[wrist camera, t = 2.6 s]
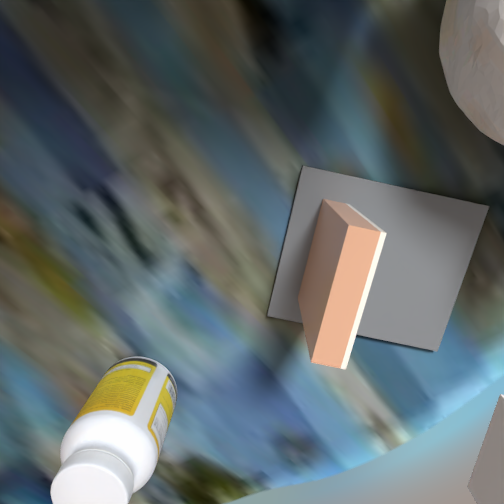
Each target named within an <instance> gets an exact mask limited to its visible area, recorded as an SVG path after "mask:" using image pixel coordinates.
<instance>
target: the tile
mask: <svg viewBox="0 0 504 504" xmlns="http://www.w3.org/2000/svg"><path fill="white" fill-rule="evenodd" d="M386 234H387V233H386V232H385V231H383V230H382V229H381V228H379V227H378V226H377V225H376V224H374V223H373V222H372V221H370V220H369V219H368V218H366V217H365V216H364V215H363V214H361V213H360V212H359V211H357V210H356V209H355V208H354V207H352V206H351V205H350V204H346V203H341V202H336V201H332V200H327V199H323V201H322V205H321V209H320V213H319V217H318V221H317V225H316V228H315V232H314V236H313V240H312V244H311V248H310V252H309V256H308V260H307V264H306V268H305V272H304V275H303V279H302V283H301V287H300V291H299V295H298V302H299V307H300V311H301V316H302V321H303V326H304V331H305V336H306V341H307V345H308V350H309V355H310V360H311V362H312V363H317V364H322V365H327V366H332V367H336V368H341V369H346V367H347V364H348V360H349V357H350V354H351V350H352V347H353V344H354V340H355V337H356V334H357V330H358V327H359V324H360V320H361V317H362V314H363V310H364V307H365V304H366V300H367V297H368V294H369V290H370V287H371V284H372V280H373V277H374V274H375V270H376V267H377V264H378V260H379V257H380V254H381V250H382V247H383V244H384V240H385V237H386Z"/></svg>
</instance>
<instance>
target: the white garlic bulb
mask: <svg viewBox="0 0 504 504" xmlns="http://www.w3.org/2000/svg"><path fill="white" fill-rule="evenodd" d="M439 55H440V59H441V63H442V67H443V71H444V75H445V78H446V82H447V85H448V88H449V91H450V94H451V95H452V97H453V99H454V101H455V102H456V104H457V105H458V107H459V108H460V109H461V110H462V111H463V112H464V113H465V115H466V116H467V117H468V119H469V120H470V121H471V122H472V123H473V124H474V125H475V126H476V127H477V128H478V129H479V130H480V131H481V132H482V133H484V134H485V135H486V136H488V137H490V138H491V139H493V140H494V141H496V142H498V143H500V144H502V145H504V0H446V4H445V9H444V13H443V18H442V22H441V27H440V43H439Z"/></svg>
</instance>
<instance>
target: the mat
mask: <svg viewBox="0 0 504 504" xmlns="http://www.w3.org/2000/svg"><path fill="white" fill-rule="evenodd" d="M323 199H327V200H332V201H336V202H341V203H346V204H350V205H351V206H352V207H354V208H355V209H356V210H357V211H359V212H360V213H361V214H363V215H364V216H365V217H366V218H368V219H369V220H370V221H372V222H373V223H374V224H376V225H377V226H378V227H379V228H381V229H382V230H383V231H385V232H386V233H387V234H386V237H385V240H384V244H383V247H382V250H381V254H380V257H379V260H378V264H377V267H376V270H375V274H374V277H373V280H372V284H371V287H370V290H369V294H368V297H367V300H366V304H365V307H364V310H363V314H362V317H361V320H360V324H359V327H358V330H357V334H356V335H361V336H366V337H371V338H375V339H380V340H385V341H390V342H395V343H399V344H404V345H409V346H414V347H419V348H424V349H428V350H433V351H438V348H439V346H440V343H441V340H442V337H443V334H444V332H445V329H446V326H447V323H448V320H449V318H450V315H451V312H452V309H453V307H454V304H455V301H456V298H457V295H458V293H459V290H460V287H461V284H462V281H463V279H464V276H465V273H466V270H467V267H468V265H469V262H470V259H471V256H472V254H473V251H474V248H475V245H476V242H477V240H478V237H479V234H480V231H481V228H482V226H483V223H484V220H485V217H486V214H487V212H488V209H489V206H486V205H482V204H477V203H473V202H468V201H463V200H459V199H454V198H450V197H445V196H440V195H436V194H431V193H427V192H422V191H418V190H413V189H408V188H404V187H399V186H395V185H390V184H385V183H381V182H376V181H372V180H367V179H362V178H358V177H353V176H349V175H344V174H339V173H335V172H330V171H326V170H321V169H316V168H312V167H307V166H303V165H302V170H301V174H300V178H299V182H298V187H297V191H296V195H295V199H294V203H293V208H292V212H291V216H290V220H289V224H288V229H287V233H286V237H285V241H284V245H283V250H282V254H281V258H280V262H279V266H278V271H277V275H276V279H275V283H274V288H273V292H272V296H271V300H270V304H269V309H268V313H267V316H270V317H274V318H279V319H284V320H289V321H294V322H299V323H303V321H302V316H301V311H300V307H299V302H298V295H299V291H300V287H301V283H302V279H303V275H304V272H305V268H306V264H307V260H308V256H309V252H310V248H311V244H312V240H313V236H314V232H315V228H316V225H317V221H318V217H319V213H320V209H321V205H322V201H323Z"/></svg>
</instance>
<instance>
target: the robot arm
mask: <svg viewBox="0 0 504 504" xmlns="http://www.w3.org/2000/svg"><path fill="white" fill-rule="evenodd" d="M467 487H468V489H469V491H470V492H471V494H472V496H473V497H474V499H475V501H476V503H477V504H504V395H500V396H499V399H498V402H497V405H496V407H495V410H494V413H493V416H492V419H491V421H490V424H489V427H488V430H487V433H486V435H485V438H484V441H483V444H482V447H481V449H480V452H479V455H478V458H477V461H476V463H475V466H474V469H473V472H472V475H471V477H470V480H469V483H468V486H467Z"/></svg>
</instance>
